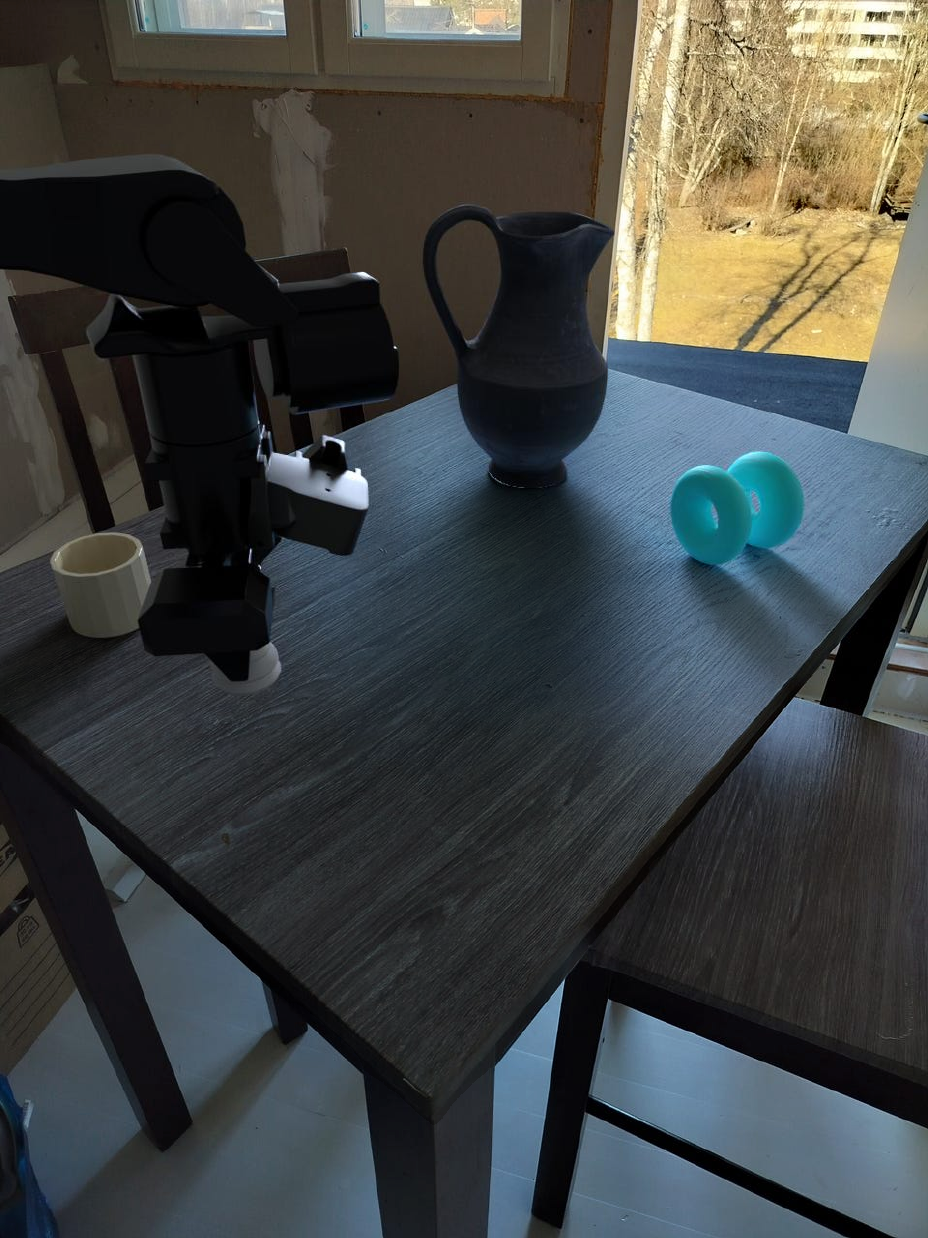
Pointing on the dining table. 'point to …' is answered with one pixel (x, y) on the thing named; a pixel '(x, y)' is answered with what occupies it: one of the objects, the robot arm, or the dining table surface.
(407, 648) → the dining table surface
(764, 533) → the donuts
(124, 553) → the cup
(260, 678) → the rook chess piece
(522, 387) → the pitcher
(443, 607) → the dining table surface
